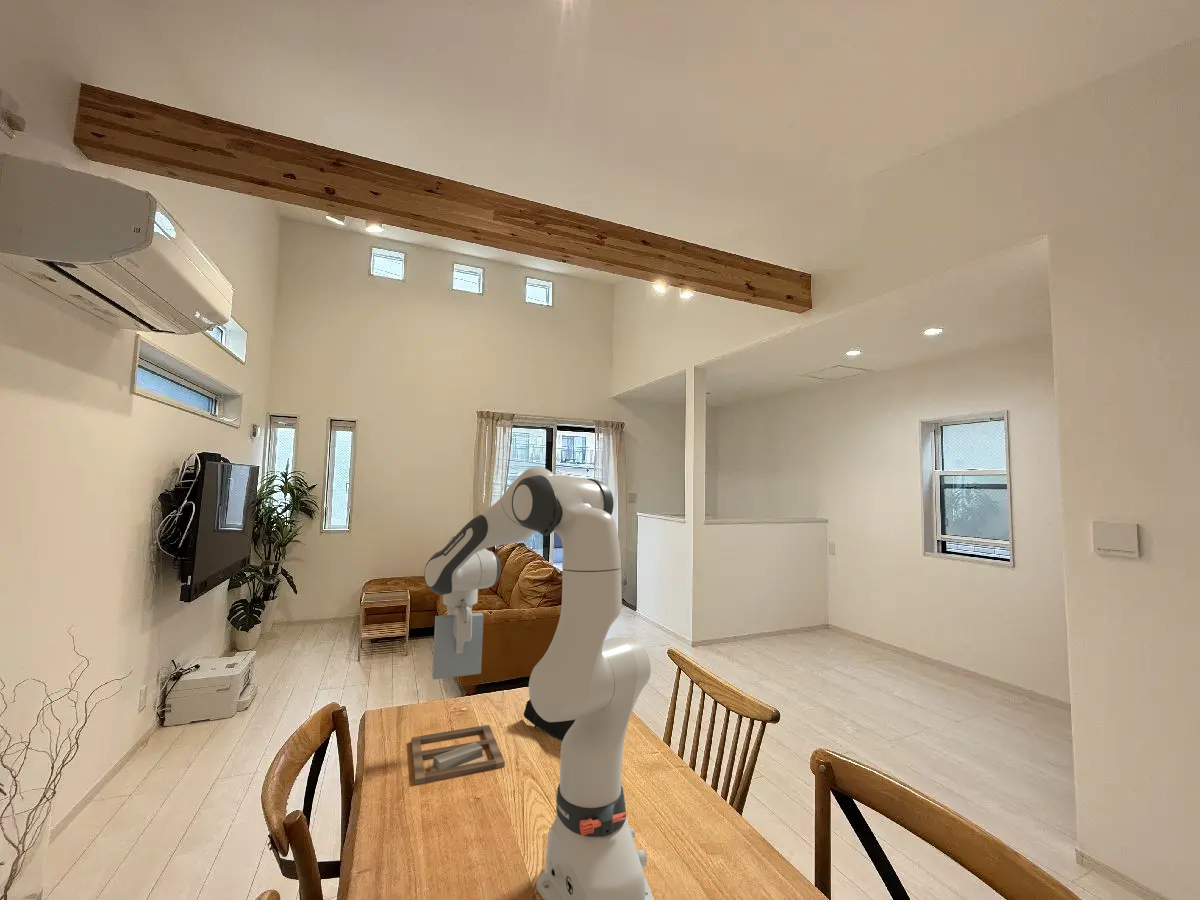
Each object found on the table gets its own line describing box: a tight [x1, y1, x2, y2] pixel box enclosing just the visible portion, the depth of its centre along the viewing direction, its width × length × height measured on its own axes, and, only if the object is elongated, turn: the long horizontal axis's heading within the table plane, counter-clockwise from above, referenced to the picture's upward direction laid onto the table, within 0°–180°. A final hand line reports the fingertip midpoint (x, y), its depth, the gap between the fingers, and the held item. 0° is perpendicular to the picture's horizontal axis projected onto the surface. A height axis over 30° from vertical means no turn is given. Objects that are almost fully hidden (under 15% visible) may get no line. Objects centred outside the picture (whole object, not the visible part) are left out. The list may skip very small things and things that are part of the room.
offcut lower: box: [428, 752, 487, 772], centre depth 118 cm, size 4×13×2 cm, turn 120°
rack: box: [410, 724, 506, 786], centre depth 121 cm, size 20×20×2 cm
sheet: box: [431, 612, 484, 680], centre depth 128 cm, size 3×12×15 cm, turn 113°
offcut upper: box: [432, 741, 484, 770], centre depth 118 cm, size 4×11×2 cm, turn 132°
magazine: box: [523, 699, 576, 742], centre depth 132 cm, size 17×3×30 cm
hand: (458, 650), depth 128 cm, fingers closed on sheet, 3 cm apart
